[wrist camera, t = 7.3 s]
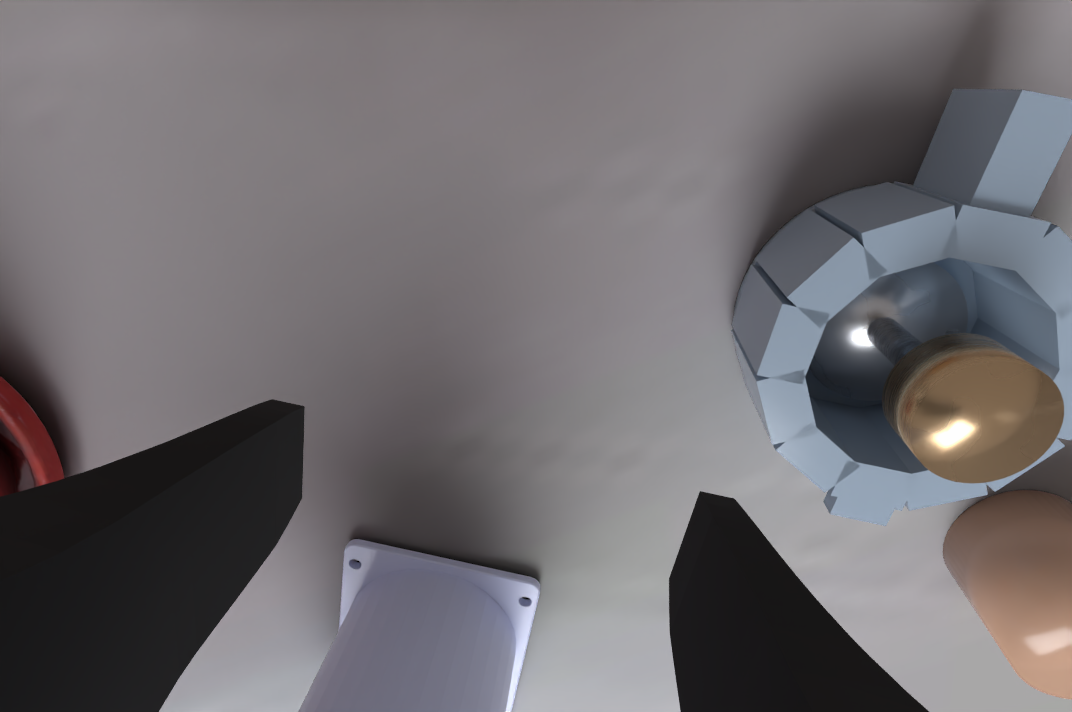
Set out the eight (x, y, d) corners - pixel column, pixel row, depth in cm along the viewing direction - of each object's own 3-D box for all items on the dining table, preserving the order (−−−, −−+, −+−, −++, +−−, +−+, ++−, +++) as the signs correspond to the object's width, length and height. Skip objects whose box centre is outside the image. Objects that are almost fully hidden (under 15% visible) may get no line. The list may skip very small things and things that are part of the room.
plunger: (920, 406, 20) (1039, 531, 14) (776, 376, 20) (839, 488, 15) (987, 268, 18) (1155, 350, 13) (829, 236, 18) (925, 303, 13)
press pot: (932, 468, 22) (1002, 550, 18) (696, 418, 22) (715, 489, 18) (1114, 123, 17) (1260, 134, 13) (813, 64, 17) (870, 58, 13)
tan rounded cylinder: (1061, 601, 23) (1151, 710, 19) (927, 586, 24) (988, 688, 20) (1109, 497, 21) (1220, 592, 17) (963, 483, 22) (1038, 572, 18)
